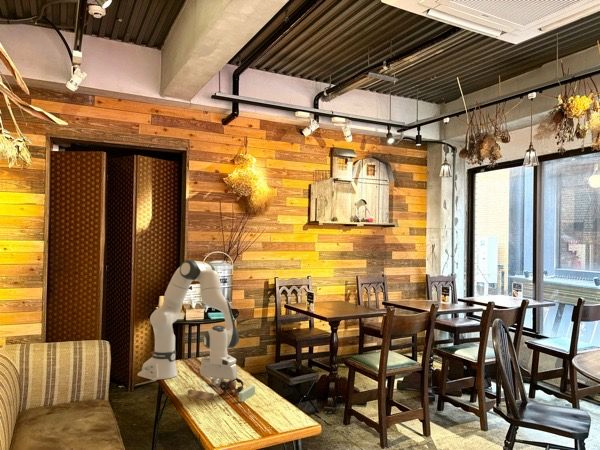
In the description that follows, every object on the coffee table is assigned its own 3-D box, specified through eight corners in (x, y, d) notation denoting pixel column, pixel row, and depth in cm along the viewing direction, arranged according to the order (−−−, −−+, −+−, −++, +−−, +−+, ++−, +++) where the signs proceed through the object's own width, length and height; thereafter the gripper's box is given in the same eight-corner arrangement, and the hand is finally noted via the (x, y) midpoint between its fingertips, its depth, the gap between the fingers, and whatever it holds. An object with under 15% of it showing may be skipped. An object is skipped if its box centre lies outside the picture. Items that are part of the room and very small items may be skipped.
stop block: (238, 401, 217) (238, 392, 217) (251, 393, 228) (251, 385, 228) (242, 401, 216) (242, 393, 216) (254, 394, 227) (254, 386, 227)
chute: (187, 396, 223) (187, 390, 223) (213, 383, 243) (213, 377, 243) (211, 400, 217) (211, 394, 217) (235, 387, 238) (236, 381, 238)
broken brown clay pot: (237, 389, 236) (243, 376, 234) (240, 402, 228) (246, 390, 226) (215, 386, 231) (221, 373, 229) (218, 400, 223) (224, 387, 220)
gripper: (197, 358, 231) (197, 385, 230) (232, 362, 222) (231, 391, 222) (205, 355, 236) (204, 381, 236) (239, 359, 228) (238, 387, 228)
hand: (218, 386), depth 229 cm, fingers closed
